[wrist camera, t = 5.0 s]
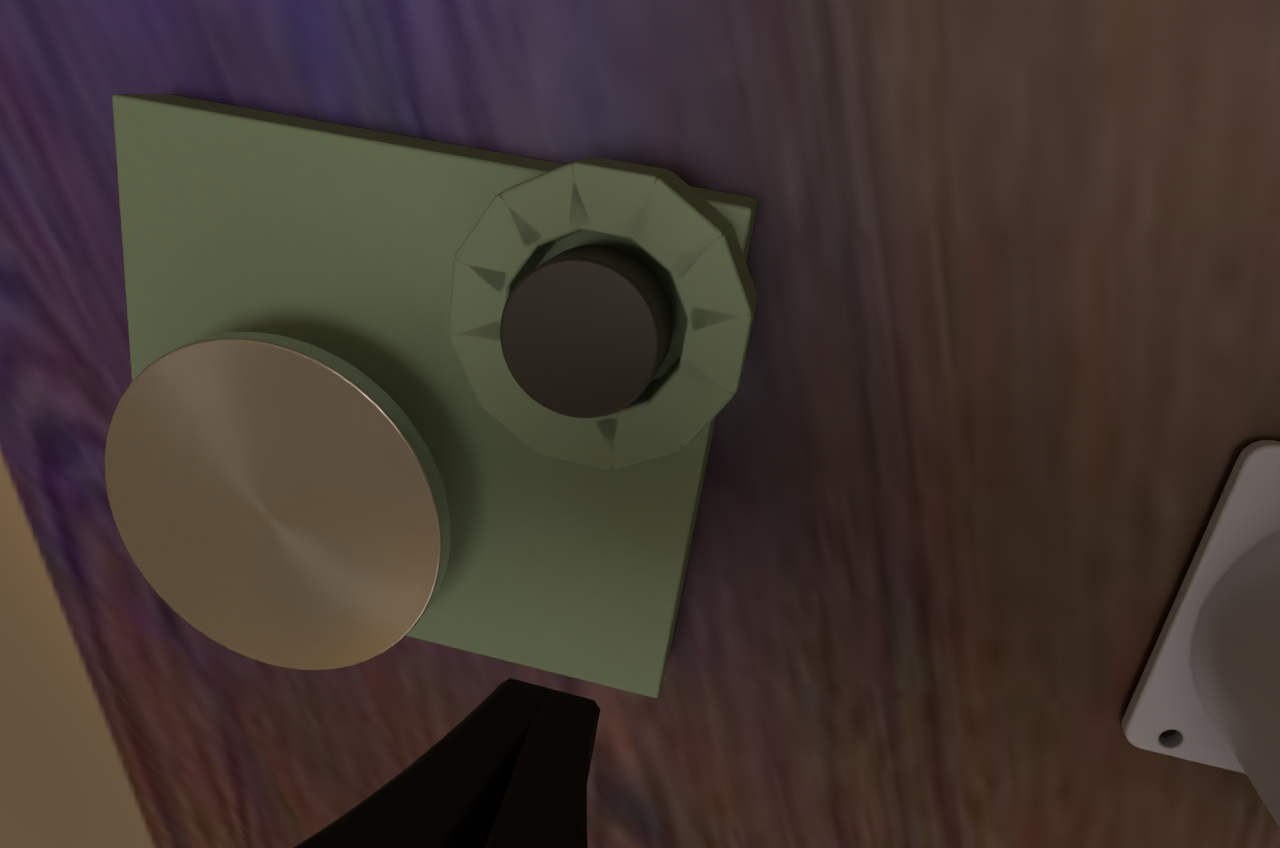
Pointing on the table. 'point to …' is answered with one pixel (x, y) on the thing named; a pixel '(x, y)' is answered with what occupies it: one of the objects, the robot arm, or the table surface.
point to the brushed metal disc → (278, 500)
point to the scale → (460, 346)
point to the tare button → (586, 331)
